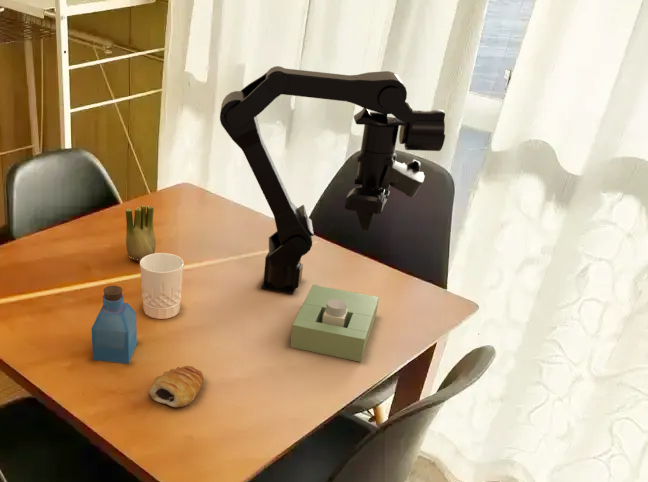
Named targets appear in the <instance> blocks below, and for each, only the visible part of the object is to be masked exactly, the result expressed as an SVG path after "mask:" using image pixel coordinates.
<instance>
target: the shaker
mask: <svg viewBox="0 0 648 482" xmlns="http://www.w3.org/2000/svg"><path fill="white" fill-rule="evenodd" d="M347 314H348V309H347V303H346V302H345V301H343V300H340V299H331V300H328V301H327V305H326V310H325V312H324V314H323V320H322V323H324V324H329V325H334V326H339V327H344V328H345V327H346V321H347Z"/></svg>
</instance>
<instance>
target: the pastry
mask: <svg viewBox="0 0 648 482" xmlns="http://www.w3.org/2000/svg"><path fill="white" fill-rule="evenodd" d="M203 383H204V374H203V373H202V371H201V370H199V369H197V368H196V367H194V366H190V365H185V366H181V367H179V366H177V367H176V368H171V369H169V370H166V371H163V373H162V375H159V376H157V377H156V378H155V380H154V382H153V384H152V386H151V388H149V390H148V394H149V396H150V397H151V399H152V400H154V401H155V402H157V403H159V404H162V405H168V406H170V407H172V408H183V407H186V406H188V405H190V404H191V403H192V402H193V401H195V399H196V397H197V396H198V394H199V393H200V390H201V388H202V386H203Z"/></svg>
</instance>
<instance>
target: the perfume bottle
mask: <svg viewBox="0 0 648 482" xmlns="http://www.w3.org/2000/svg"><path fill="white" fill-rule="evenodd" d="M102 291H103V292H102V293H103V295H102V306H101V308H100V309H99V312H98V313H97V316H96V318H95V320H94V322H93V324H92V326H91V329H90V331H91V347H92V348H91V349H92V360H93V361H100V362H108V363H116V364H117V363H118V364H119V363H120V364H127V365H129V364H130V363H131V360H132V357H133V354H134V352H135V350H136V347H137V345H138V335H137V334H138V333H137V312H136V310H134V308H133V307H132V306H131V304H130V303H128V302H125V295H124V294H123V288H122V287H121V286H119V285H108V286H106V287H104V288H103V290H102Z"/></svg>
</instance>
